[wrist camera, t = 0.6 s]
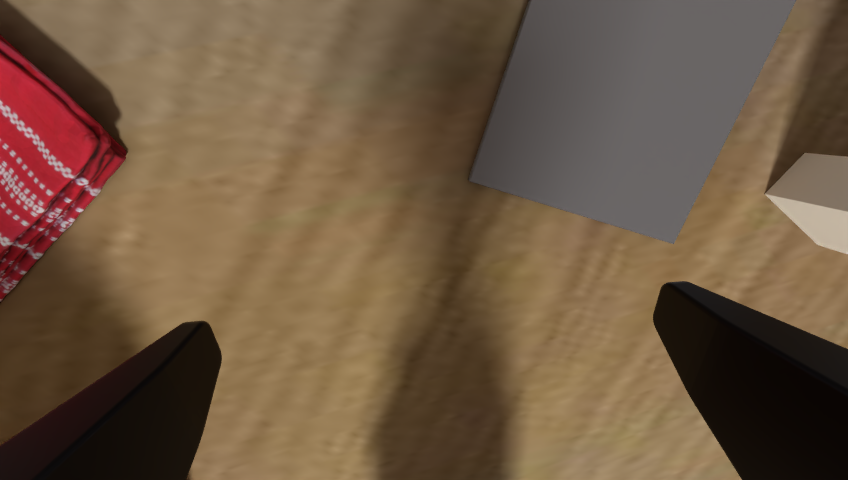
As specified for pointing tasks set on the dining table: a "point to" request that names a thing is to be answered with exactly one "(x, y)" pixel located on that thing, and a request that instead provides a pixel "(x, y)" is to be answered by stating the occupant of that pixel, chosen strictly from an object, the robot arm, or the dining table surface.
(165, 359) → the robot arm
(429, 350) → the dining table surface
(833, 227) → the box
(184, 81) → the dining table surface
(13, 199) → the dish towel
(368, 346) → the dining table surface
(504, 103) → the placemat
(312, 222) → the dining table surface
